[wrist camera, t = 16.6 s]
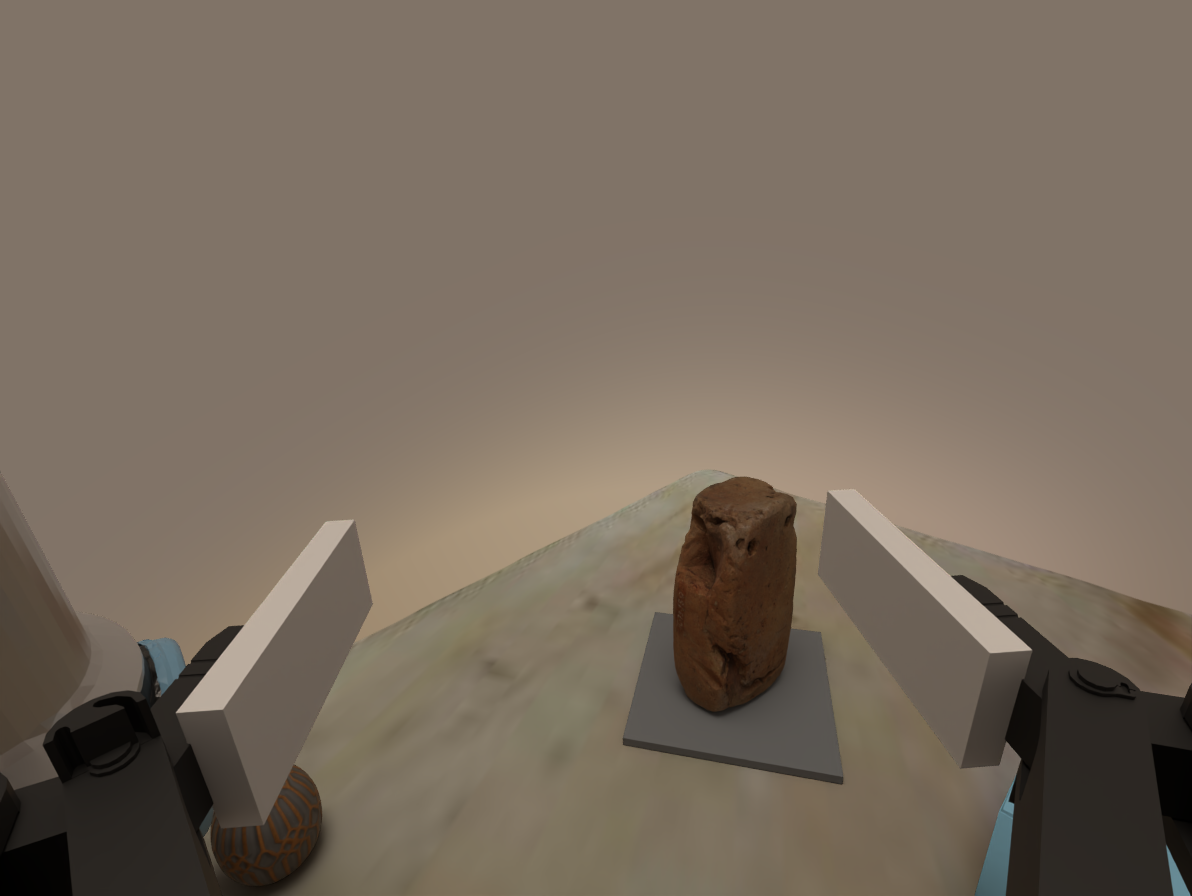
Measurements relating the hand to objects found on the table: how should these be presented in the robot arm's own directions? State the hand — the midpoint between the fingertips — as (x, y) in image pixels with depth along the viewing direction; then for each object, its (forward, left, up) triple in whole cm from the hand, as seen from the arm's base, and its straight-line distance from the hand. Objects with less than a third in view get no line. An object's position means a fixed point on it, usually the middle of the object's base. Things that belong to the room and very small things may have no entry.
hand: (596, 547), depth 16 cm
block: (+4, +32, -34) cm, 47 cm away
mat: (+4, +33, -34) cm, 48 cm away
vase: (-28, +9, -35) cm, 45 cm away
